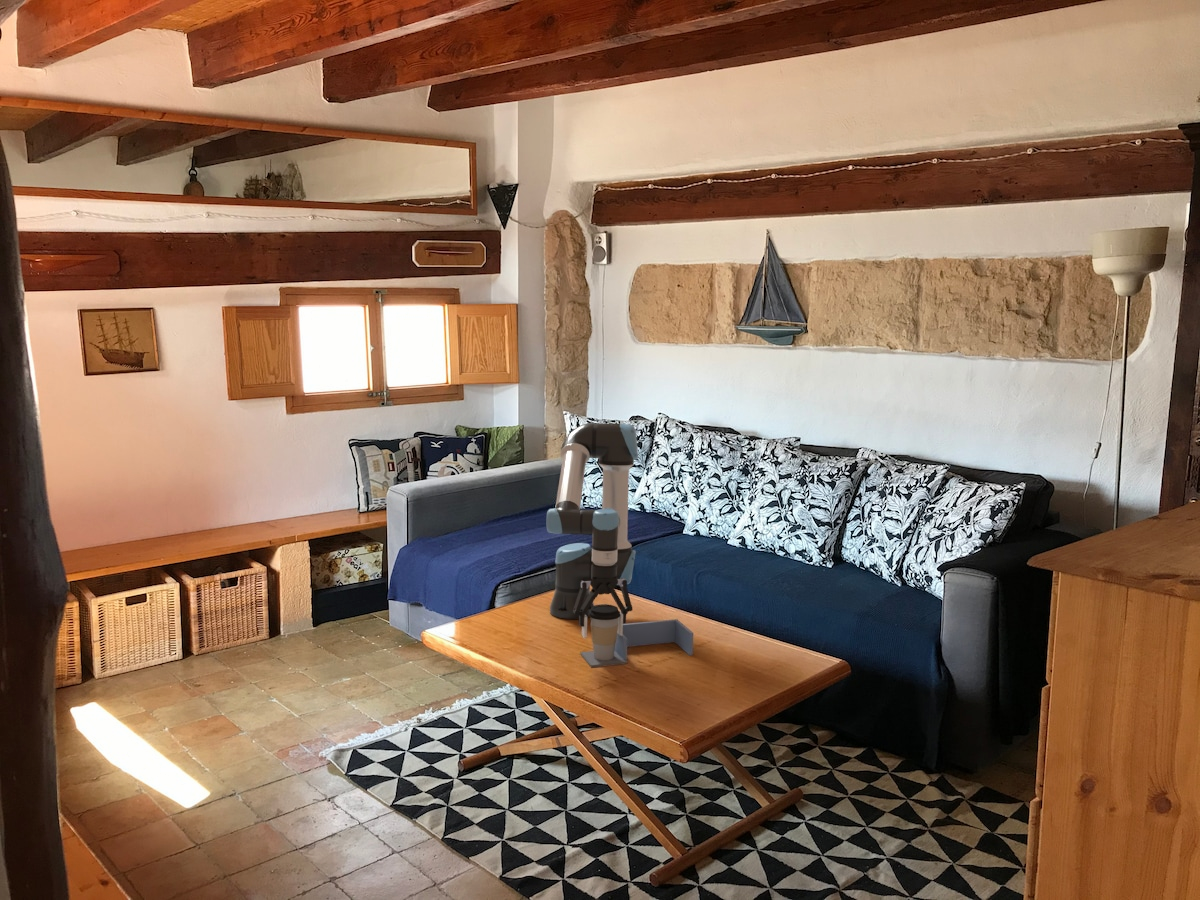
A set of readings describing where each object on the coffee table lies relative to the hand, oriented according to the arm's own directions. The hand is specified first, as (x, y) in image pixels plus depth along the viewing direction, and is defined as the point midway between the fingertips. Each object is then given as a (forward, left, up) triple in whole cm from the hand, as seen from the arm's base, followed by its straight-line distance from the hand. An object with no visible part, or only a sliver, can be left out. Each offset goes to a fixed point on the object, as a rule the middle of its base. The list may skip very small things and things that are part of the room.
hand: (602, 635), depth 293 cm
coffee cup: (0, +1, -7) cm, 7 cm away
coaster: (0, +1, -7) cm, 7 cm away
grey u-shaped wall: (-2, +17, -7) cm, 18 cm away
